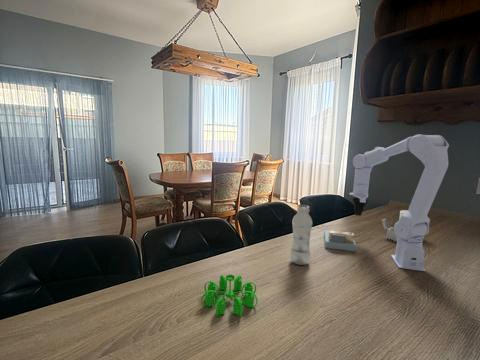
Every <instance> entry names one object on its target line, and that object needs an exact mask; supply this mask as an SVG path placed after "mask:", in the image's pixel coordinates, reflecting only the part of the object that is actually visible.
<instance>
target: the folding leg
mask: <svg viewBox="0 0 480 360" xmlns="http://www.w3.org/2000/svg"><path fill="white" fill-rule="evenodd" d="M328 231H329V237H328V238H329V240H331V234H341V235H345V236H346V238H345V242H352V243H354V241H355V234H354V232H350V231H349V232H348V231H340V230H339V231H338V230H337V231H336V230H328Z"/></svg>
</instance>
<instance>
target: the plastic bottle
mask: <svg viewBox="0 0 480 360" xmlns="http://www.w3.org/2000/svg"><path fill="white" fill-rule="evenodd" d="M296 212H297V213H296V214H295V215H294V216H293V218H292V220H291V222H292V223H291V224H292V244H291V249H290V253H289V255H290V260H291V261H292V263H293V264H296V265H299V266H306V265H307V264H309V262H310V261H311V251H310V250H311V249H310V239H311V231H312V228H313V219H312V217H311V216H310V214H309V213H310V205H307V204H298V205H297V210H296Z"/></svg>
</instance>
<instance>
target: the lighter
mask: <svg viewBox="0 0 480 360" xmlns="http://www.w3.org/2000/svg"><path fill="white" fill-rule="evenodd" d="M381 223H382V227H383V228H384V230H386V235H385V236H386V237H385V238H386V239H387V238H388V240H390V239H391V240H390V241H392V240H393V241H392V242H395V241H396V242H397V239H398V238H397V235H396V234H395V231H394V226H393V227H392V226H391V227H390V226H389V223H388V220H387V218H384V219H381Z"/></svg>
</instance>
